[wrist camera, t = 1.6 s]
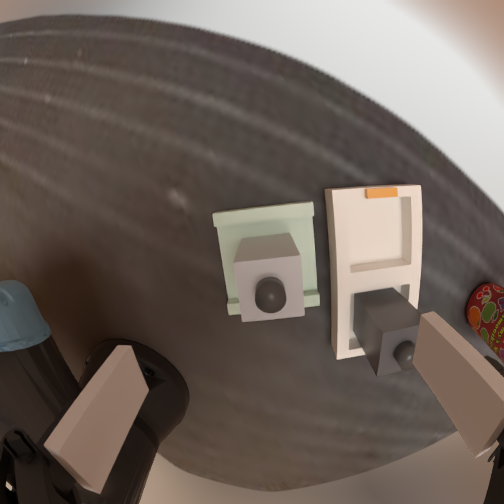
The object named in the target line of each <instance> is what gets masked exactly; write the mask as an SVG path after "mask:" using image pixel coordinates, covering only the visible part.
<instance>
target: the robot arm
mask: <svg viewBox="0 0 504 504" xmlns="http://www.w3.org/2000/svg"><path fill="white" fill-rule="evenodd" d="M412 363H413V365H414V366H415V368H416V369H417V370H418V372H419V373H420V375H421V376H422V377H423V379H424V380H425V382H426V383H427V384H428V386H429V387H430V389H431V390H432V392H433V393H434V395H435V396H436V398H437V399H438V401H439V402H440V404H441V405H442V407H443V408H444V410H445V411H446V413H447V414H448V416H449V417H450V419H451V420H452V422H453V423H454V425H455V427H456V428H457V430H458V431H459V433H460V435H461V436H462V438H463V439H464V441H465V443H466V444H467V446H468V448H469V449H470V451H471V453H472V454H473V456H474V458H477V457H478V456H480V455H482V454H483V453H485V452H486V451H488V450H489V449H490V448H491V447H492V445H493V444H494V443H495V441H496V440H497V441H498V442H499V445H498V447H497V448H496V449H495V451H494V452H493V453H492V454H491V456H490V457H489V459H488V462H490V461H491V460H492V458H493V457H494V456H495V459H494V461H493V462H494V465H493V470H492V474H491V478H490V483H489V486H488V490H487V494H486V497H485V500H484V504H504V367H503V366H502V365H501V364H500V363H499V362H498V361H497V360H495V359H493V358H491V357H489V356H485V357H483V356H482V355H481V354H480V353H479V352H478V351H477V350H476V349H475V348H474V347H473V346H471V345H470V344H469V343H468V342H467V341H466V340H465V339H464V338H463V337H462V336H461V335H460V334H459V333H458V332H456V331H455V330H454V329H453V328H452V327H451V326H450V325H449V324H448V323H446V322H445V321H444V320H443V319H442V318H441V317H440V316H439V315H437V314H436V313H435V312H434V311H433V312H429V313H425V314H421V317H420V323H419V330H418V335H417V341H416V346H415V351H414V356H413V361H412ZM188 404H189V392H188V388H187V386H186V383H185V381H184V380H183V378H182V376H181V375H180V374H179V372H178V371H177V370H176V369H175V368H174V367H173V366H172V365H171V364H170V363H169V362H168V361H167V360H166V359H165V358H163V357H162V356H161V355H159V354H158V353H156V352H154V351H153V350H151V349H149V348H147V347H145V346H143V345H141V344H138V343H135V342H132V341H128V340H121V339H113V340H107V341H104V342H102V343H100V344H99V345H97V346H96V347H95V349H94V350H93V351H92V352H91V353H90V354H89V355H88V357H87V359H86V361H85V363H84V367H83V374H82V376H81V378H80V381H79V383H78V382H77V380H76V379H75V377H74V375H73V374H72V372H71V370H70V369H69V367H68V365H67V363H66V362H65V360H64V358H63V356H62V354H61V352H60V351H59V349H58V347H57V345H56V343H55V341H54V339H53V337H52V335H51V330H50V327H49V325H48V323H47V322H45V321H44V319H43V317H42V315H41V313H40V311H39V309H38V307H37V304H36V302H35V300H34V298H33V296H32V294H31V292H30V290H29V289H28V288H27V287H26V286H25V285H24V284H23V283H21V282H19V281H16V280H5V281H0V504H139V502H140V499H141V496H142V493H143V490H144V487H145V484H146V481H147V478H148V475H149V472H150V469H151V466H152V464H153V461H154V458H155V455H156V453H157V450H158V447H159V445H160V443H161V442H162V441H163V440H164V439H165V438H166V437H167V436H168V435H169V434H170V432H171V431H172V430H173V429H174V428H175V427H176V426H177V425H178V424H179V423H180V422H181V421H182V419H183V418H184V416H185V413H186V410H187V407H188ZM6 481H7V482H8V483H9V484H10V485H11V486H12V491H10V490H9V489H8V488H7V487H6Z"/></svg>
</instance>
